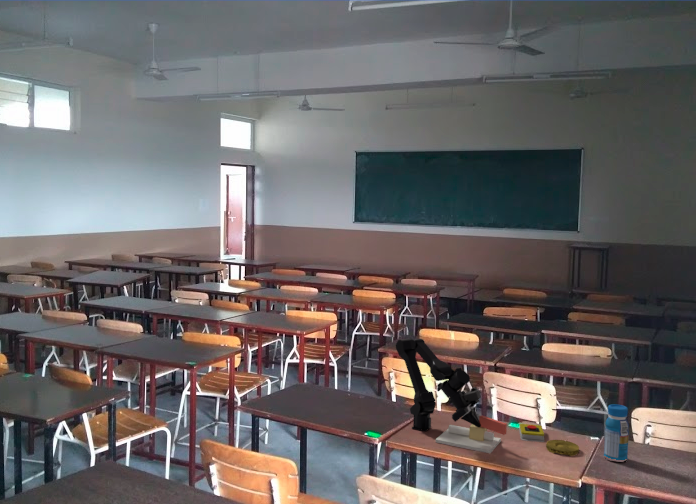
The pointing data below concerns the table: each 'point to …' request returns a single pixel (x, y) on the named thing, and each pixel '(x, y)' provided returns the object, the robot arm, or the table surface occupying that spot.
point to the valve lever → (492, 424)
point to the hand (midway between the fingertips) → (480, 426)
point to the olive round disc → (562, 447)
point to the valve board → (469, 438)
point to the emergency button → (531, 432)
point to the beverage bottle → (616, 433)
